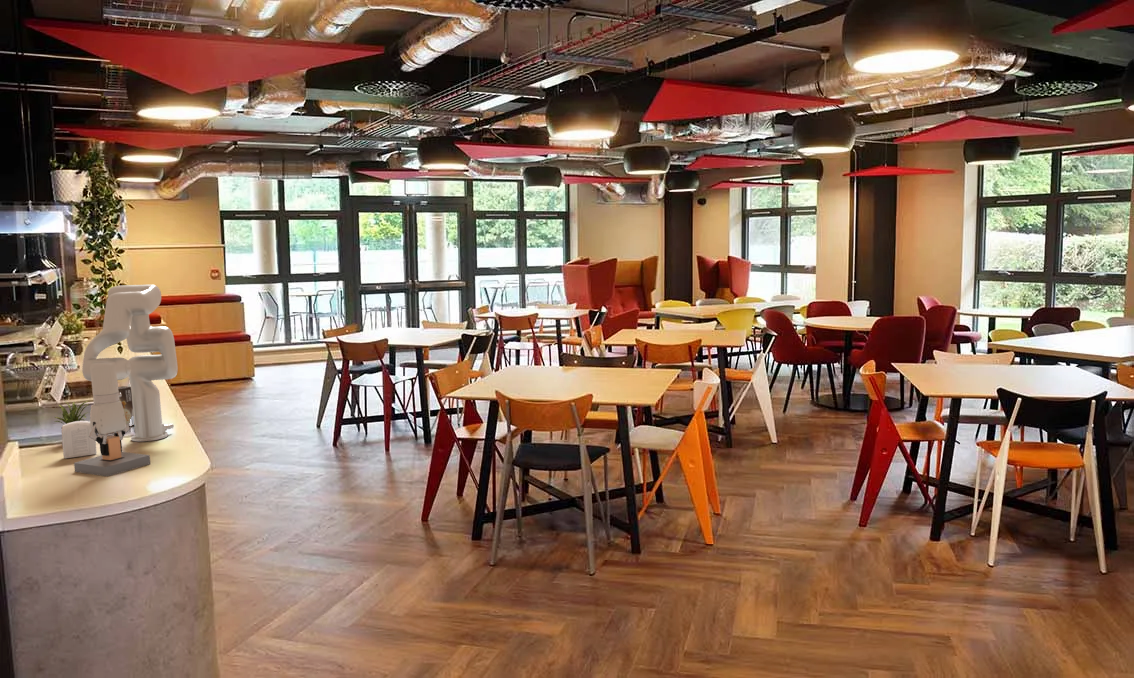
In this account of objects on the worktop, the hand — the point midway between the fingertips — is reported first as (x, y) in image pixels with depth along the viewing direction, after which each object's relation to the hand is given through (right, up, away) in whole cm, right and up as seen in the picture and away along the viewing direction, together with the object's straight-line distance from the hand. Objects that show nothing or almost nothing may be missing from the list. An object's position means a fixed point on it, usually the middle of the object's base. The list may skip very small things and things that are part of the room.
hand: (111, 453), depth 293 cm
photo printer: (-21, -4, +19) cm, 28 cm away
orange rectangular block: (0, -2, 0) cm, 2 cm away
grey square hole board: (0, -5, +1) cm, 5 cm away
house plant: (-34, -1, +41) cm, 54 cm away
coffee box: (-30, +2, +66) cm, 73 cm away
